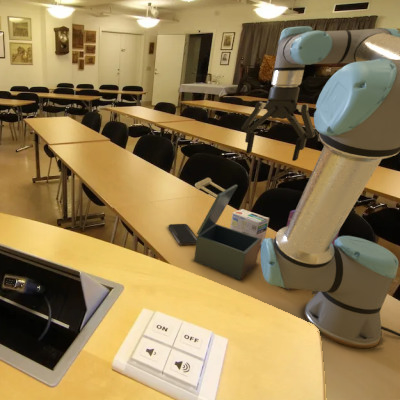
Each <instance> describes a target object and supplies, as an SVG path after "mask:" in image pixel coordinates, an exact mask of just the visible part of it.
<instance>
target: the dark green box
mask: <svg viewBox="0 0 400 400" xmlns="http://www.w3.org/2000/svg"><path fill="white" fill-rule="evenodd" d="M196 237H197V242H196V244H195V251H194V258H193V261H194V262H195V263H198V264H200V265H203V266H206V267H208V268H210V269H212V270H215V271H217V272H220V273H222V274H224V275H226V276H229V277H231V278H233V279H236V280H238V281H242V279H243V278H244V277H245V276H246V275H247V274H248V273H249V272H250V271H251V270H252V269H253V268H254V267H255V266H256V265H257V261H258V257H259V252H260V249H261V245H260V244H261V238H258V237H254V236H251V235H248V234H245V233H242V232H239V231H236V230H233V229H230V228H229V227H227V226H223V225H221V224H218V223H216V224H214V225H213V226H211V227H210V228H208V229H207V230H205V231H204V232H202V233H201V234H200V235H196Z"/></svg>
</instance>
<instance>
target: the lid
mask: <svg viewBox="0 0 400 400" xmlns="http://www.w3.org/2000/svg"><path fill="white" fill-rule="evenodd" d="M209 185H211V186H212V187H214V188H216V189H218V190H219V191H221V192H219V193H218V194H217V193H216V192H213V191H211V190H210V189H208V188H206V186H209ZM238 186H239V185H238V184H234V185H232V186H230V187H229V188H227V189H225V188H223V187H221V186H220V185H218V184H216V183H215V182H213V181H212V179H211V178H210V177H205V178H204V179H202V180H199V181H198V182H195V184H194V187H195V189H197V190H200V189H201V190H202V191H204V192H206V193H207V194H209V195H210V196H213V198H215V199H214V201H213V203H212V205H211V206H210V208H209V210H208V212H207V214H206V215H205V218H204V219H203V221H202V223H201V225H200V227H199V229H198V230H197V232H196V236H198V235H200V234H201V233H202V232H204V231H205V230H207V229H208V228H210V227H211V226H213V225H214V224H218V221H219V219H220V217H221V215H223V212H224V210H225V209H226V208H227V205H228V204H229V202H230V200H231V198H232V197H233V195H234V193H235V192H236V190H237V188H238Z"/></svg>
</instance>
